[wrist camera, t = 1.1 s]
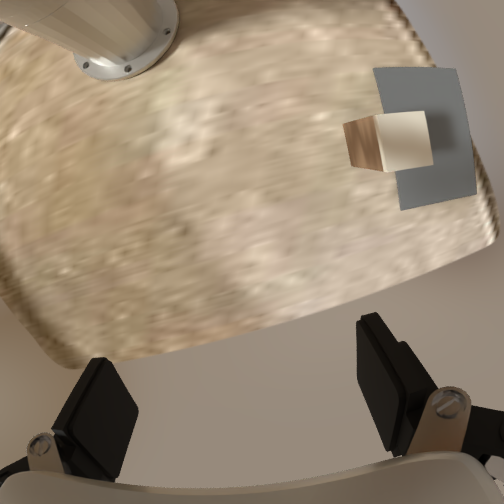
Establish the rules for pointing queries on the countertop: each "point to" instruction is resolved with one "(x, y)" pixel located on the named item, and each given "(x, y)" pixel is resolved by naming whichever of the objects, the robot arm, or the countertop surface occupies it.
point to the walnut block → (389, 141)
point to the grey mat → (432, 132)
